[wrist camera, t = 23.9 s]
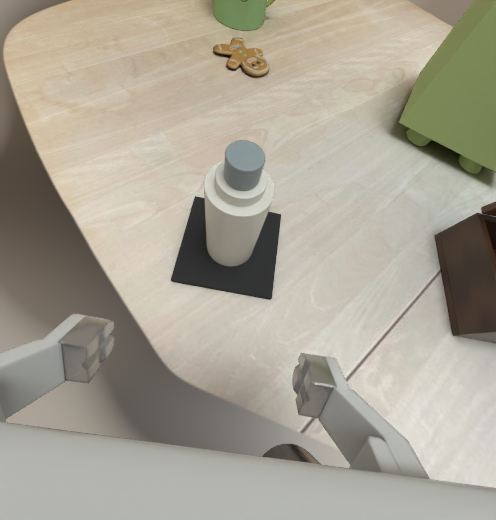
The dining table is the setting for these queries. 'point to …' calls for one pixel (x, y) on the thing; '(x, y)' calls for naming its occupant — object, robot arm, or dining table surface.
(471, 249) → the chest
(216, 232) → the bottle
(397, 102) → the dining table surface
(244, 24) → the mug
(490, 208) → the chest lid
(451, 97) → the container
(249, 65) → the cookie
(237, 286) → the mat
